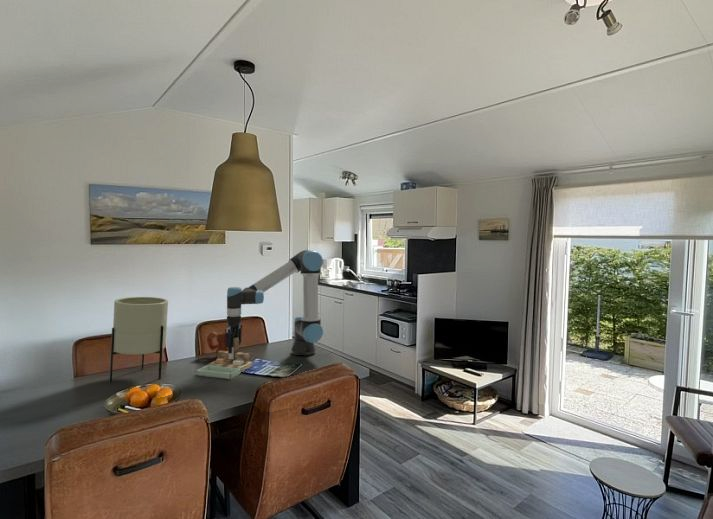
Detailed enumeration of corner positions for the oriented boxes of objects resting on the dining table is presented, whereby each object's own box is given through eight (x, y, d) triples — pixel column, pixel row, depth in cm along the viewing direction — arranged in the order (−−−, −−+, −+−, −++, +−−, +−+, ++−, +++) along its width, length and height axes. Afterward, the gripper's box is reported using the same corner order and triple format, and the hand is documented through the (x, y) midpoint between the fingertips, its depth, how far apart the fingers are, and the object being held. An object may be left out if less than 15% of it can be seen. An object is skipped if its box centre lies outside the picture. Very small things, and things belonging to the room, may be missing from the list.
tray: (241, 373, 206) (241, 368, 206) (230, 379, 197) (230, 374, 197) (208, 369, 211) (208, 364, 211) (196, 375, 202) (196, 370, 202)
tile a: (243, 363, 214) (243, 359, 214) (239, 365, 210) (239, 361, 210) (237, 362, 215) (237, 359, 215) (232, 364, 211) (232, 361, 211)
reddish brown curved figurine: (233, 355, 240) (234, 330, 239) (228, 359, 232) (228, 333, 231) (210, 354, 241) (211, 329, 241) (204, 358, 233) (204, 332, 233)
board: (252, 367, 217) (252, 361, 217) (241, 373, 207) (241, 367, 207) (220, 363, 222) (220, 358, 222) (208, 369, 212) (208, 363, 212)
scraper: (249, 360, 217) (250, 338, 216) (245, 362, 213) (246, 340, 212) (221, 357, 222) (221, 336, 221) (217, 359, 218) (217, 337, 217)
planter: (142, 389, 184) (147, 306, 183) (98, 381, 189) (102, 301, 187) (175, 373, 207) (179, 299, 206) (135, 367, 212) (139, 295, 210)
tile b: (226, 361, 217) (226, 358, 217) (223, 363, 213) (223, 360, 213) (219, 361, 217) (219, 357, 217) (216, 363, 213) (216, 359, 213)
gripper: (236, 312, 226) (236, 353, 226) (218, 317, 209) (218, 361, 210) (248, 313, 224) (247, 354, 224) (231, 318, 207) (230, 362, 208)
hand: (233, 357), depth 217 cm, fingers closed on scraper, 4 cm apart
